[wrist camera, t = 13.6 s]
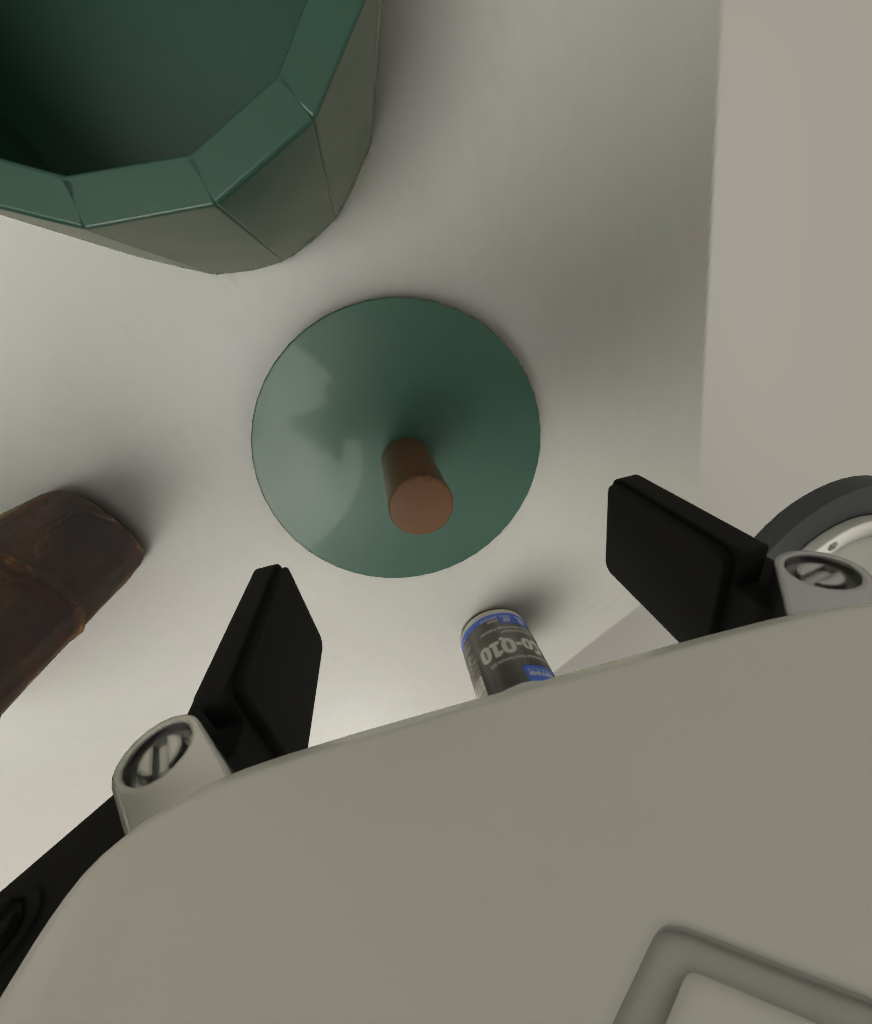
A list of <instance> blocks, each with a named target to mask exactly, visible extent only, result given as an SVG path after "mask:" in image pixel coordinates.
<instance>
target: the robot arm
mask: <svg viewBox="0 0 872 1024" xmlns="http://www.w3.org/2000/svg"><path fill="white" fill-rule="evenodd" d="M768 549H769V546H768V545H766V544H765V543H763V542H761V541H759V540H757V539H755V538H753V537H752V536H750V535H748V534H746V533H744V532H742V531H741V530H738V529H737V528H735V527H733V526H731V525H729V524H728V523H726V522H724V521H722V520H720V519H718V518H717V517H715V516H713V515H711V514H709V513H707V512H705V511H704V510H702V509H700V508H698V507H696V506H695V505H693V504H691V503H689V502H687V501H685V500H684V499H682V498H680V497H678V496H676V495H674V494H673V493H671V492H669V491H667V490H665V489H663V488H661V487H660V486H658V485H656V484H654V483H652V482H650V481H649V480H647V479H645V478H643V477H641V476H639V475H632V476H628V477H624V478H620V479H616V480H615V481H614V483H613V485H612V486H610V487H609V490H608V511H607V540H606V565H607V568H608V570H609V571H610V573H611V574H612V575H613V576H614V577H615V578H616V579H617V580H618V581H619V582H620V583H621V584H622V585H623V586H624V587H625V588H626V589H627V590H628V591H629V592H630V593H631V594H632V595H633V596H634V597H635V598H636V599H637V600H638V601H639V602H640V603H641V604H642V605H643V606H644V607H645V608H646V609H647V610H648V611H649V612H650V613H651V614H652V615H653V616H654V617H655V618H656V619H657V620H658V621H659V622H660V623H661V624H662V625H663V626H664V627H665V628H666V629H667V631H668V632H670V634H671V635H672V636H673V637H674V638H675V639H676V640H677V641H678V642H679V643H677V644H674V645H670V646H667V647H663V648H660V649H656V650H652V651H648V652H645V653H641V654H637V655H633V656H630V657H626V658H622V659H619V660H615V661H611V662H608V663H604V664H600V665H597V666H593V667H590V668H586V669H582V670H579V671H575V672H572V673H568V674H564V675H561V676H557V677H554V678H550V679H546V680H543V681H539V682H536V683H532V684H528V685H525V686H521V687H518V688H514V689H511V690H507V691H503V692H500V693H496V694H493V695H489V696H486V697H482V698H478V699H475V700H471V701H468V702H464V703H461V704H457V705H454V706H450V707H447V708H443V709H440V710H436V711H433V712H429V713H426V714H422V715H419V716H415V717H412V718H408V719H405V720H401V721H398V722H394V723H391V724H387V725H384V726H380V727H377V728H373V729H370V730H366V731H363V732H359V733H356V734H352V735H349V736H346V737H343V738H339V739H336V740H333V741H329V742H326V743H323V744H319V745H316V746H313V747H310V748H308V743H309V736H310V729H311V722H312V716H313V709H314V702H315V695H316V688H317V681H318V675H319V668H320V661H321V654H322V640H321V637H320V634H319V632H318V630H317V628H316V626H315V624H314V622H313V619H312V617H311V615H310V613H309V611H308V609H307V607H306V605H305V602H304V600H303V598H302V596H301V594H300V592H299V590H298V588H297V585H296V583H295V581H294V579H293V577H292V575H291V573H290V571H289V569H288V568H287V567H284V568H282V567H281V566H280V565H278V564H275V565H271V566H267V567H263V568H259V569H256V570H255V571H254V573H253V575H252V577H251V579H250V581H249V583H248V585H247V588H246V590H245V592H244V594H243V596H242V598H241V600H240V602H239V604H238V607H237V609H236V611H235V613H234V615H233V617H232V619H231V621H230V623H229V626H228V628H227V630H226V632H225V634H224V636H223V638H222V640H221V642H220V645H219V647H218V649H217V651H216V653H215V655H214V657H213V659H212V662H211V664H210V666H209V668H208V670H207V672H206V674H205V676H204V678H203V681H202V683H201V685H200V687H199V689H198V691H197V693H196V695H195V697H194V701H193V704H192V706H191V708H190V710H189V712H188V714H187V715H185V714H184V715H179V716H174V717H172V718H170V719H167V720H165V721H163V722H161V723H159V724H158V725H156V726H154V727H153V728H151V729H150V730H148V731H147V732H146V733H145V734H144V735H142V736H141V737H140V738H139V739H138V740H137V741H136V742H135V743H134V744H133V745H132V746H131V747H130V748H129V749H128V751H127V752H126V753H125V754H124V756H123V757H122V759H121V760H120V762H119V763H118V765H117V767H116V769H115V772H114V775H113V777H112V791H113V796H111V797H110V798H109V799H108V800H107V801H106V802H105V803H103V804H102V805H101V806H100V807H99V808H98V809H96V810H95V811H94V812H93V813H92V814H91V815H89V816H88V817H87V818H86V819H85V820H84V821H82V822H81V823H80V824H79V825H78V826H77V827H75V828H74V829H73V830H72V831H71V832H70V833H68V834H67V835H66V836H65V837H64V838H63V839H61V840H60V841H59V842H58V843H57V844H56V845H54V846H53V847H52V848H51V849H50V850H49V851H47V852H46V853H45V854H44V855H43V856H42V857H40V858H39V859H38V860H37V861H36V862H35V863H34V864H32V865H31V866H30V867H29V868H28V869H27V870H25V871H24V872H23V873H22V874H21V875H20V876H18V877H17V878H16V879H15V880H14V881H13V882H11V883H10V884H9V885H8V886H7V887H6V888H4V889H3V890H2V891H1V892H0V1024H872V515H867V516H860V517H856V518H853V519H849V520H847V521H844V522H842V523H840V524H837V525H835V526H833V527H832V528H830V529H828V530H826V531H825V532H823V533H821V534H820V535H819V536H817V537H816V538H814V539H813V540H812V541H810V542H809V543H808V544H807V545H806V546H804V547H803V548H802V549H801V550H797V551H788V552H785V553H782V554H780V555H779V556H778V557H777V558H775V561H774V560H772V559H770V558H769V557H767V552H768Z"/></svg>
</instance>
